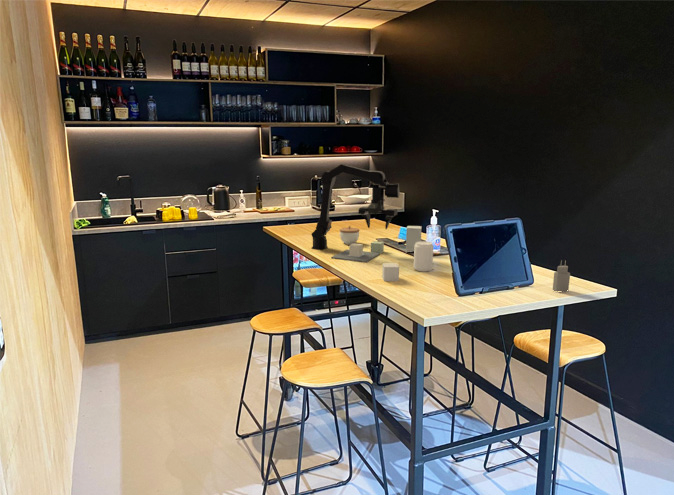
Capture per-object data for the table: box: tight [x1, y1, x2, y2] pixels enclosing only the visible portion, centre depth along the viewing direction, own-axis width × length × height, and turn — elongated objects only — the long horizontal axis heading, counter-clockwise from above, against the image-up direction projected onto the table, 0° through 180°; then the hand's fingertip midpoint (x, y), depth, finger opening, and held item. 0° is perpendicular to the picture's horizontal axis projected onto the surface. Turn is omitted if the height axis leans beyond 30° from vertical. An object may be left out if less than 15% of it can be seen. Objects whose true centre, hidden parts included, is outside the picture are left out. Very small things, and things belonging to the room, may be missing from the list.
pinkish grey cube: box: [381, 262, 400, 282], centre depth 205 cm, size 6×6×6 cm
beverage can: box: [413, 240, 434, 273], centre depth 219 cm, size 8×8×12 cm
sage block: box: [370, 240, 385, 254], centre depth 252 cm, size 5×5×5 cm
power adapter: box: [552, 259, 571, 292], centre depth 190 cm, size 3×5×12 cm, turn 106°
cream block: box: [348, 242, 364, 256], centre depth 243 cm, size 5×5×5 cm
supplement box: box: [405, 225, 423, 253], centre depth 253 cm, size 7×7×13 cm
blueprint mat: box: [330, 249, 381, 263], centre depth 244 cm, size 18×18×1 cm
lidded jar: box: [339, 225, 360, 245], centre depth 272 cm, size 11×11×9 cm
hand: (377, 228), depth 250 cm, fingers open, 9 cm apart
